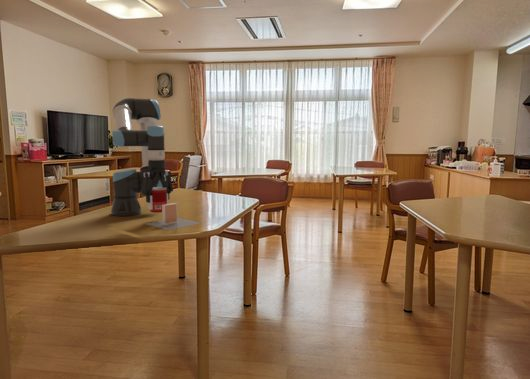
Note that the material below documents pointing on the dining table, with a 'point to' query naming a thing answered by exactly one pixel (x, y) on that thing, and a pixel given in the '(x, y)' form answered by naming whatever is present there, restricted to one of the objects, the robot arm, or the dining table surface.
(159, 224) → the slate board
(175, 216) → the tile
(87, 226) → the dining table surface
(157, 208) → the canned food
